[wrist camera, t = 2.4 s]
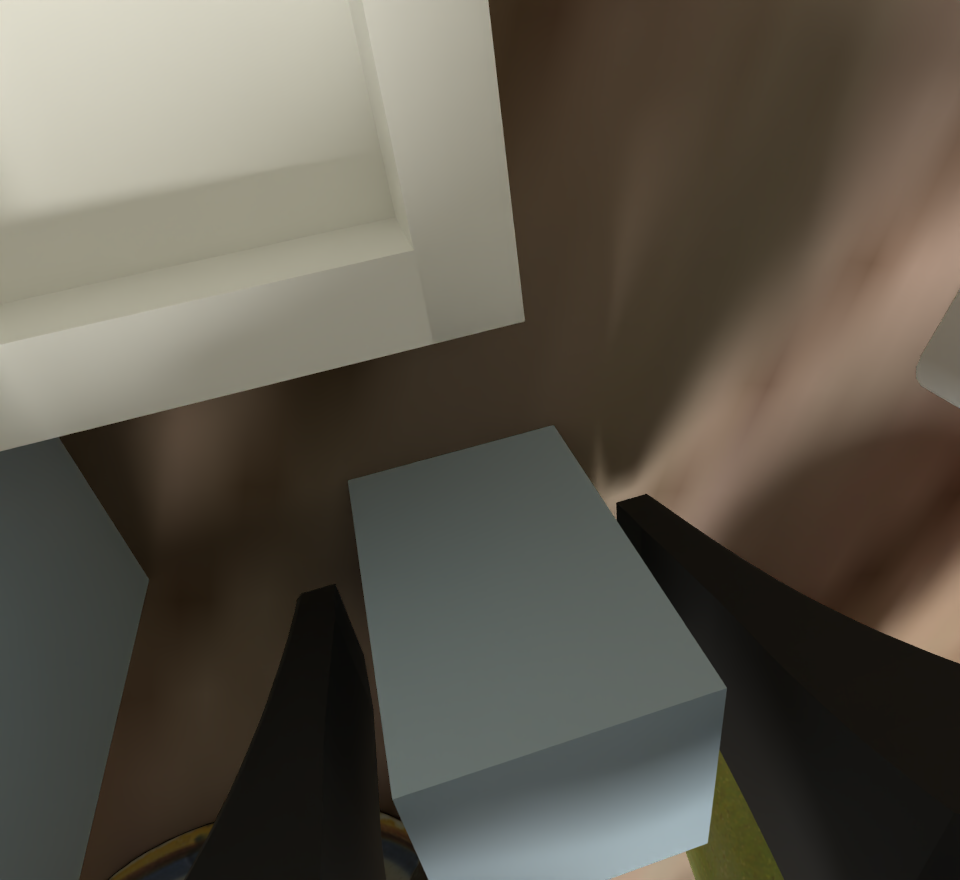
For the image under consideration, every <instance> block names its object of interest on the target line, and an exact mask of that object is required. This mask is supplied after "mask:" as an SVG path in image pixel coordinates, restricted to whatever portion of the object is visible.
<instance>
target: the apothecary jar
mask: <svg viewBox="0 0 960 880" xmlns="http://www.w3.org/2000/svg"><path fill="white" fill-rule="evenodd" d="M380 824H381V839H382V849H383V858H384V867H385V874H386V880H428V878H427V875H426V873H425V871H424V869H423V867H422V864H421V862H420V860H419V858H418V855H417V853H416V851H415V849H414V847H413V844H412V842H411V840H410V838H409V835H408V833H407V831H406V829H405V827H404V824H403V822H402V821H400V820H398V819H396V818H394V817H392V816H389V815H386V814H384V813H381V812H380ZM213 825H214V823H212V824H209V825H206V826H203V827H200V828H197V829H194V830H192V831H189V832H187V833H184V834H182V835H180V836H178V837H175V838H173V839H171V840H169V841H167V842H165V843H163V844H161V845H159V846H158V847H156V848H154V849H152V850H150V851H148V852H146V853H145V854H143V855H141V856H140V857H138V858H137V859H135V860H133V861H132V862H131V863H129V864H128V865H127V866H125V867H124V868H123V869H121V870H120V871H119V872H117V873H116V874H114V875H113V876H112V877H111V878H110V879H109V880H184V879H185V877H186V875H187V873H188V871H189V870H190V868H191V866H192V864H193V862H194V860H195V858H196V857H197V855H198V853H199V851H200V849H201V847H202V845H203V844H204V842H205V840H206V838H207V836H208V834H209V832H210V830H211V828H212V826H213Z"/></svg>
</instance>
